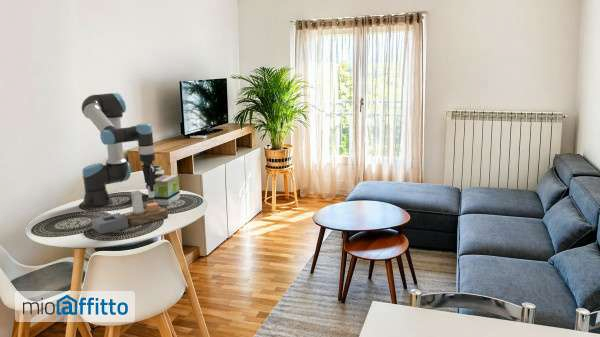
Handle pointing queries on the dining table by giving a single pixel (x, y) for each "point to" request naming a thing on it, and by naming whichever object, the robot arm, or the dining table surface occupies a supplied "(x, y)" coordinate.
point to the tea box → (166, 189)
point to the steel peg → (137, 203)
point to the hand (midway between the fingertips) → (151, 196)
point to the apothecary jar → (157, 172)
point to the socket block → (146, 216)
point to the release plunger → (152, 207)
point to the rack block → (109, 223)
